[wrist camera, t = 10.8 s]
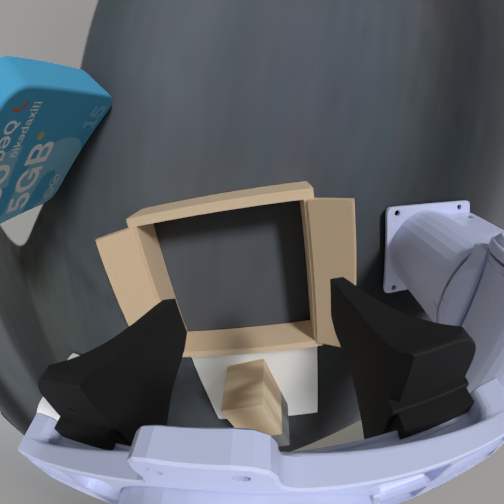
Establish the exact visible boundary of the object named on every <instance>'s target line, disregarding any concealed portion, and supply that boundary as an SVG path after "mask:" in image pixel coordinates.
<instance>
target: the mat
mask: <svg viewBox="0 0 504 504" xmlns="http://www.w3.org/2000/svg"><path fill="white" fill-rule="evenodd" d="M191 358H192V360H193V363H194V365H195V367H196V370H197V372H198V374H199V377H200V379H201V381H202V384H203V386H204V388H205V390H206V393H207V395H208V397H209V399H210V401H211V403H212V405H213V408H214V410H215V412H216V414H217V416H218V418H219V419H227V418H226V417H225V416H224V414H223V413H222V412H221V405H222V399H223V392H224V386H225V380H226V374H227V367H228V366H230V365H235V364H240V363H245V362H250V361H254V360H258V359H263V358H264V360H265V362H266V364H267V366H268V368H269V370H270V372H271V374H272V375H273V377H274V379H275V381H276V383H277V385H278V387H279V389H280V391H281V393H282V395H283V397H284V398H285V400H286V402H287V404H288V416H290V415H300V414H308V413H315V412H318V367H317V346H315V347H308V348H301V349H293V350H284V351H275V352H265V353H254V354H241V355H226V356H205V357H191Z"/></svg>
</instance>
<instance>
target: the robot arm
mask: <svg viewBox="0 0 504 504" xmlns="http://www.w3.org/2000/svg"><path fill="white" fill-rule="evenodd" d="M458 205H459V208H457V207H458ZM397 210H398V214H397V215H395V212H396V211H397ZM394 285H395V286H394ZM392 286H394V287H393V288H392ZM407 289H408V290H409V291H410V292H411V293H412V295H413V296H414V297H415V299H416V300H417V301H418V302H419V304H420V305H421V306H422V308H423V309H424V310H425V312H426V313H427V314H428V316H429V317H430V318H431V320H432V321H433V322H431V321H427V320H423V319H419V318H416V317H414V316H411V315H408V314H405V313H403V312H400V311H398V310H396V309H394V308H391V307H389V306H387V305H386V304H384V303H382V302H380V301H379V300H377V299H375V298H373V297H372V296H370V295H369V294H367V293H366V292H364V291H363V290H361V289H360V288H358V287H357V286H356V285H354V284H353V283H351V282H350V281H349V280H347V279H346V278H344V277H339V278H333V279H330V290H331V318H332V322H333V326H334V330H335V333H336V336H337V338H338V341H339V343H340V346H341V348H342V351H343V353H344V356H345V359H346V361H347V364H348V366H349V369H350V372H351V375H352V378H353V382H354V386H355V391H356V395H357V400H358V404H359V409H360V415H361V420H362V426H363V432H364V439H363V440H359V441H355V442H351V443H346V444H341V445H336V446H330V447H325V448H319V449H312V450H305V451H297V452H280V451H279V448H278V444H277V442H276V441H275V440H274V439H273V438H272V437H271V436H270V435H269V434H267V433H264V432H261V431H257V430H255V429H247V428H235V427H232V428H203V427H179V426H167V419H168V411H169V404H170V398H171V393H172V389H173V385H174V382H175V378H176V375H177V372H178V369H179V366H180V363H181V359H182V356H183V353H184V349H185V344H186V337H187V330H186V328H185V325H184V322H183V319H182V316H181V314H180V311H179V308H178V305H177V302H176V299H165V300H162V301H161V302H159V303H158V304H157V305H155V306H154V307H153V308H152V309H150V310H149V311H148V312H147V313H146V314H144V315H143V316H142V317H141V318H140V319H138V320H137V321H136V322H135V323H133V324H132V325H131V326H129V327H128V328H127V329H125V330H124V331H123V332H121V333H120V334H119V335H117V336H116V337H114V338H113V339H111V340H109V341H108V342H106V343H104V344H103V345H101V346H99V347H97V348H95V349H93V350H91V351H89V352H87V353H85V354H82V355H80V356H77V357H75V358H72V359H69V360H66V361H63V362H59V363H56V364H52V365H49V366H48V368H47V369H46V370H45V372H44V373H43V375H42V376H41V378H40V379H39V381H38V387H39V390H40V392H41V394H42V395H43V397H44V398H45V399H46V401H47V402H48V403H49V404H50V405H51V406H52V408H53V409H54V410H55V411H56V412H57V413H58V414H59V415H60V418H59V420H58V421H57V420H55V419H54V418H52V417H50V416H47V415H44V414H41V413H37V414H36V416H35V418H34V420H33V421H32V423H31V425H30V427H29V429H28V430H27V432H26V434H25V436H24V438H23V440H22V442H21V444H20V445H19V448H18V450H19V452H21V453H22V454H23V455H24V456H26V457H27V458H28V459H29V460H30V461H31V462H32V463H34V464H35V465H36V466H38V467H39V468H40V469H41V470H43V471H44V472H45V473H47V474H48V475H50V476H51V477H53V478H54V479H56V480H58V481H60V482H62V483H64V484H66V485H68V486H71V487H73V488H75V489H77V490H79V491H81V492H84V493H86V494H88V495H90V496H93V497H95V498H97V499H100V500H102V501H105V502H107V503H110V504H398V503H401V502H404V501H406V500H409V499H411V498H413V497H416V496H418V495H420V494H422V493H425V492H427V491H429V490H431V489H433V488H435V487H437V486H439V485H441V484H443V483H445V482H447V481H448V480H450V479H452V478H454V477H456V476H458V475H459V474H461V473H463V472H465V471H467V470H468V469H470V468H472V467H473V466H475V465H476V464H478V463H480V462H481V461H483V460H485V459H486V458H488V457H489V456H491V455H492V454H493V453H494V452H495V451H496V450H497V449H498V448H499V447H500V446H501V445H502V444H503V443H504V230H502V229H500V228H498V227H496V226H495V225H493V224H491V223H489V222H487V221H485V220H484V219H482V218H480V217H478V216H476V215H474V214H472V213H470V204H469V202H468V201H466V200H462V201H450V202H438V203H426V204H415V205H405V206H395V207H389V208H387V210H386V212H385V263H384V280H383V290H384V291H385V292H386V293H391V292H397V291H402V290H407Z"/></svg>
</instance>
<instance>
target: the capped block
mask: <svg viewBox="0 0 504 504" xmlns="http://www.w3.org/2000/svg"><path fill="white" fill-rule="evenodd" d="M221 412H222V413H223V414H224V416H225V417H226V418H227V419H228V420H229V421H230V423H231V424H232V425H233V426H234V427H235V428H247V429H255V430H257V431H261V432H264V433H267V434H269V435H270V436H271V437H272V438H273V439H274V440H275V441H276V442H277V444H278V447H280V446H286V445H290V443H289V420H288V404H287V402H286V400H285V398H284V397H283V395H282V393H281V391H280V389H279V387H278V385H277V383H276V381H275V379H274V377H273V375H272V374H271V372H270V370H269V368H268V366H267V364H266V362H265V360H264V358H263V359H258V360H254V361H250V362H245V363H240V364H235V365H230V366H228V367H227V374H226V380H225V386H224V392H223V399H222V405H221Z"/></svg>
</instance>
